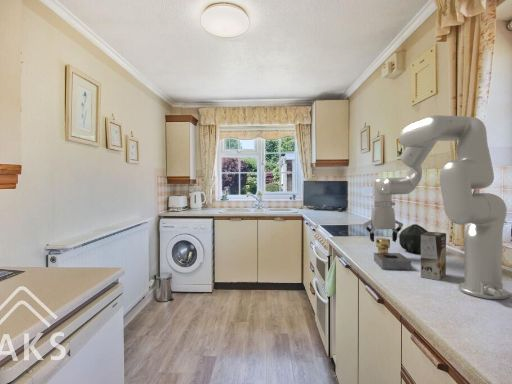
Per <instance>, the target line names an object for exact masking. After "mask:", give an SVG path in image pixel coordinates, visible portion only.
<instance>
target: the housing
mask: <svg viewBox="0 0 512 384" xmlns="http://www.w3.org/2000/svg"><path fill="white" fill-rule="evenodd" d="M373 261H374V262H375V263H376V265H378V267H379V268H380V269H381V270H386V271H387V270H393V271H395V270H398V271H412V261H411V260H410V259H408V258H407V257H406V256H405V255H403V254H402V253H400V252H388V253H378V252H373Z"/></svg>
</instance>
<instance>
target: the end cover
mask: <svg viewBox="0 0 512 384" xmlns="http://www.w3.org/2000/svg"><path fill="white" fill-rule="evenodd" d="M375 246H376V248H377V253H389V249H390V248H391V239H389V238H385V237H383V238H382V237H380V238H376V239H375Z"/></svg>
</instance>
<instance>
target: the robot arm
mask: <svg viewBox="0 0 512 384" xmlns="http://www.w3.org/2000/svg"><path fill="white" fill-rule="evenodd" d="M487 132H488V131H487V128H486V125H485V124H484V122H483V121H482V120H481V119H479V118H477V117H474V116H467V115H466V116H464V115H463V116H462V115H459V116H458V115H441V114H439V115H438V114H437V115H436V114H435V115H429V116H426V117H424V118H422V119H420V120H417V121H414V122H412V123H409V124H407V125H406V126H404V127H403V128H402V130H401V131H400V133H399V137H398V141H399V144H400V145H401V146H402V147H405V148H404V150H403V151H402V153H401V155H400V161H401V162H402V163H403V164H404V165H405V166H407V167H408V168H409V170H408V172H407V174H406V175H405V176H404V177H385V178H376V179H374V182H373V187H374V188H373V199H374V201H373V205H374V207H372V209H371V217H370V219H369V220H368V221H366V222H364V223H363V225H364V228H365V229H366V231H368V233H369V240H370V241H371V242H372V243H373V242H375V233H374V232H375V231H376V230H391V231H392V236H391V237H392V238H391V239H392V241H393V243H396V242H397V240H398V233H399V232H400V231H402V228H403V226H404V223H402V222H400V221H399V220H396V215H395V210H394V207H393V206H395V205H396V203H395V202H393V200H392V196H395V195H408V194H410V193H412V192H413V191H414V190H415V189H416V187H417V186H418V185H419V184H420V183H421V181H422V177H423V176H422V175H423V169H422V165H423V163H424V162H425V160H426V159H427V157H428V156H429V154H430V152H431V151H432V150H433V148H434V146H435V145H436V144H437V142H438V141H440V142H441V141H442V142H447V141H449V142H451V141H453V142H455V141H457V142H458V143H457V145H456V150H455V151H456V157H457V159H453V160H450V161H448V162H446V163H445V164H444V165H443V166H442V168H441V170H440V173H439V187H440V191H441V197H442V203H443V209H444V212H445V215H446V217H447V218H448V219H449V221H451V223H454V224H456V225H461V226H463V225H465V226H466V225H467V227H466V230H465V233H464V255H463V256H464V258H463V259H464V260H463V261H464V263H463V264H464V265H463V266H464V267H463V268H464V270H463V271H464V273H463V276H464V278H463V279H464V281H463V282H461V283H459V284H458V290H459V291H461V292H462V293H464V294H467V295H469V296H473V297H475V298H481V299H485V300H486V299H487V300H503V299H504V300H505V299H507V298H509V291H508V290H506V289H504V288H503V285H504V284H503V275H502V274H503V233H504V225H505V221H506V217H507V213H508V211H507V205H506V202H505V200H503V198H501V197H500V196H498V195H496V194H493V193H488V192H479V193H478V192H477V193H473V190H481V189H486V188H489V187H491V185H492V184H493V183H494V179H495V175H494V174H495V173H494V169H493V163H492V159H491V153H490V148H489V145H488V144H489V143H488V134H487ZM369 225H370V227H371V228H370V227H369ZM396 225H397V227H396Z"/></svg>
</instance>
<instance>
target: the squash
mask: <svg viewBox="0 0 512 384" xmlns="http://www.w3.org/2000/svg"><path fill="white" fill-rule="evenodd" d="M426 232H429V231H428V230H427V229H426V228H425V227H422V226H421V225H419V224H416V223H414V224H411V225H410V226H407V227H406V228H404V229H403V230H401V232H400V233H399V237H398V239H399V241H398V242H399V245H400V247H401V249H404V250H405V251H408V252H410V253H412V254H414V253H416V254H421V234H423V233H426Z"/></svg>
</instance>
